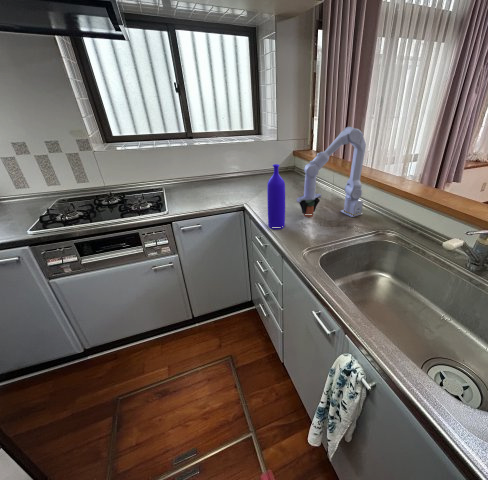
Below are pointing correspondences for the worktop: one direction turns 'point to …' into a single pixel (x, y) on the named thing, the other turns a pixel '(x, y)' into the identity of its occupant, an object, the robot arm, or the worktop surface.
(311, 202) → the jar lid
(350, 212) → the robot arm
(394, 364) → the worktop surface
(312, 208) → the jar
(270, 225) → the bottle
